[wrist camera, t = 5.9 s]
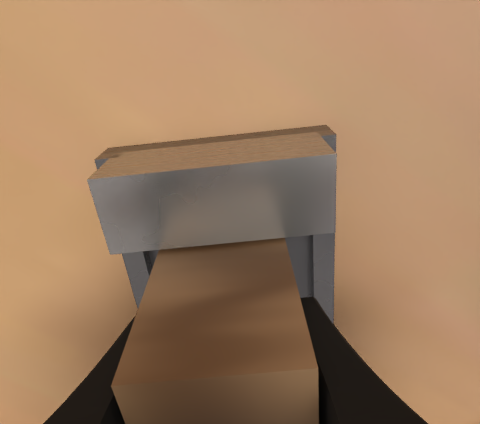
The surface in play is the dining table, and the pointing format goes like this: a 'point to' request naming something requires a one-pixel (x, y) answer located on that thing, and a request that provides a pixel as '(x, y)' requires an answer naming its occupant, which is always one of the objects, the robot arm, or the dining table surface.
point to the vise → (223, 200)
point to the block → (220, 341)
